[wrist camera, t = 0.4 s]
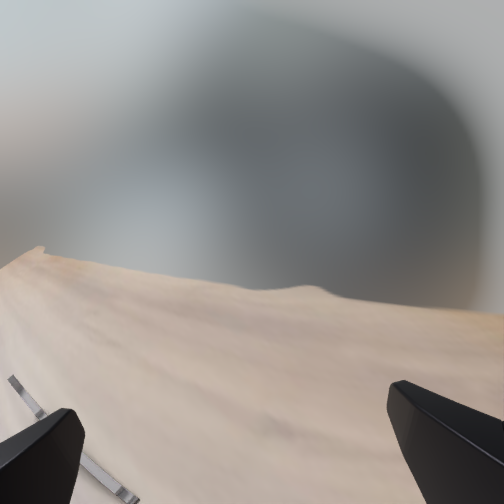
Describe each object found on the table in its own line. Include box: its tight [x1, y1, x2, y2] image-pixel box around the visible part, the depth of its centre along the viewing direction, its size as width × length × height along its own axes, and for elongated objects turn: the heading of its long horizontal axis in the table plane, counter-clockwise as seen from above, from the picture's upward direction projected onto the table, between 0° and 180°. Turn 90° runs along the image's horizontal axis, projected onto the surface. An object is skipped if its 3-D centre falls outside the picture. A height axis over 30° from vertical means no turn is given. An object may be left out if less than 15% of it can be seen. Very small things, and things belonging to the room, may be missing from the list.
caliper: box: [8, 375, 139, 504], centre depth 21 cm, size 20×1×6 cm, turn 60°
